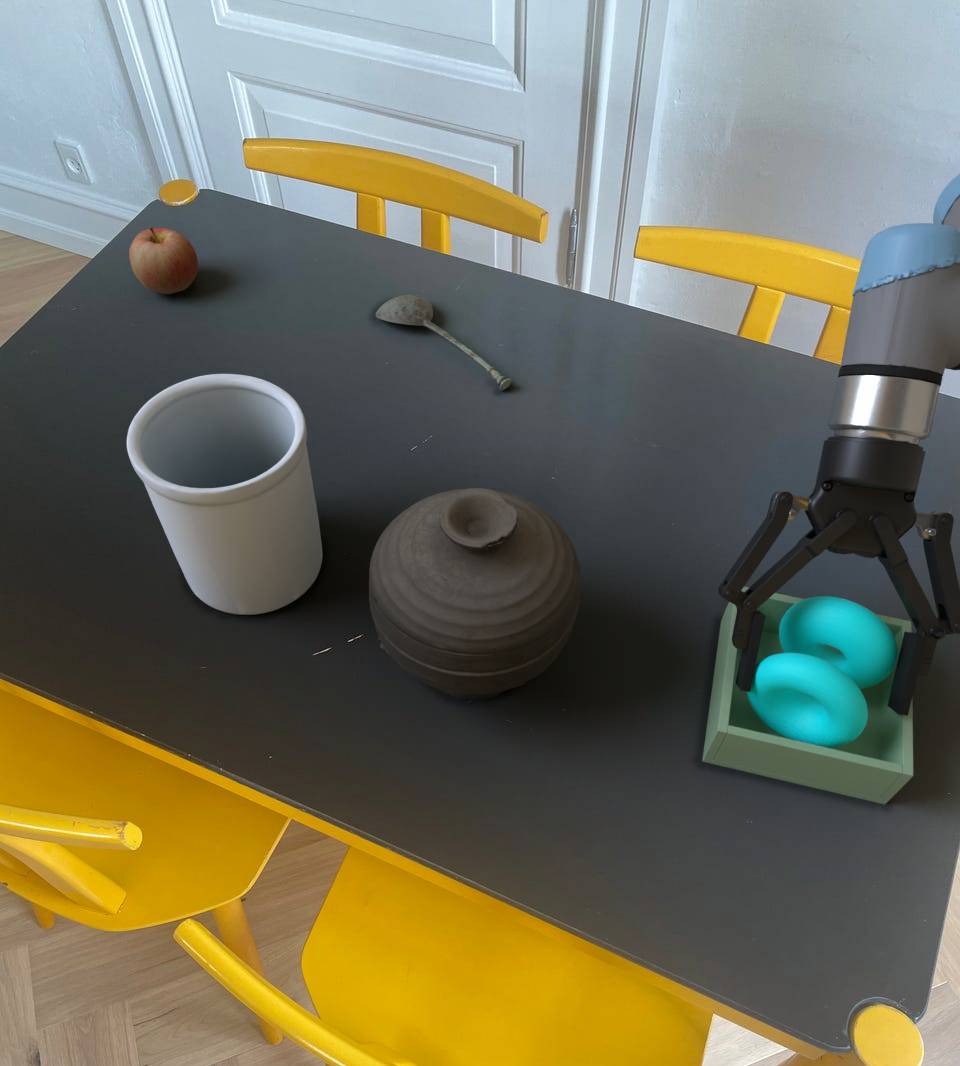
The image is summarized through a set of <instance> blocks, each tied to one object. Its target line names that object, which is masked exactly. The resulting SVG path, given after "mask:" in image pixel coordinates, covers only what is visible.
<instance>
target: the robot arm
mask: <svg viewBox="0 0 960 1066" xmlns="http://www.w3.org/2000/svg"><path fill="white" fill-rule="evenodd" d="M851 296H852V300H851V307H850V313H849V317H848V322H847V328H846V334H845V340H844V344H843V345H844V346H843V351H842V356H841V361H840V367H839V369H838V370H839V371H838V375H837V381H836V386H835V390H834V394H833V399H832V403H831V408H830V411H829V417H828V422H827V427H828V428H829V429H830V430H831V431H834V432H833V435H832V436H828V437H827V438H826V439H827V440H826V439H825V440H824V441H823V445H822V450H821V455H820V460H819V464H818V465H819V466H818V470H817V475H816V480H815V484H814V488H813V490H812V492H811V493H810V494H809V496H807V497H806V496H801V495H795V494H792V493H791V492H789V491H786V490H785V491H784V490H777V491H774V492H773V493H772V495H771V497H770V502H769V505H768V509H767V513H766V517H765V518H764V520H762V523H761V524H760V525H759V527H758V529H757V530H756V531H755V532H754V534H753V536H752V537H751V539H750V540H749V542H748V543H747V544H746V545H745V547H744V549H743V551H742V552H741V554H740V555H739V557H738V558H737V559H736V561H735V563H734V564H733V566H732V567H731V569H730V570H729V572H728V573H727V574H726V575H725V577H724V579H723V580H722V581H721V583H720V584H719V586H718V588H717V592H718V595H719V596H720V597H721V598H722V599H724V600H725V601H727V602H728V603H729V602H731V603H732V604H734V605H736V607H737V614H736V619H735V624H734V629H733V634H732V643H733V646H734V647H735V648H738V649H742V652H741V657H740V662H739V667H738V672H737V678H736V684H737V686H738V687H739V688H740V690H741V691H747V692H750V690H751V685H752V680H753V675H754V670H755V665H756V660H757V655H758V650H759V645H760V640H761V635H762V630H763V625H764V620H765V615H764V614H763V613H761V612H760V611H758V610H757V609H758V608H759V607H760V606H761V605H762V604H763V603H764V602H765V601H767V600H768V599H769V598H770V597H771V596H772V595H773V594H774V593H777V592H778V591H779V590H781V588H783V586H784V585H786V583H788V582H789V581H790V580H791V579H792V578H793V577H794V576H796V574H798V573H799V572H800V571H801V570H802V569H804V568H805V566H807V565H808V564H809V563H810V562H811V561H812V560H814V559H815V558H816V557H818V556H820V555H821V554H822V553H824V551H826V550H827V552H830V553H833V554H839V555H850V554H851V555H852V554H854V555H856V556H860V557H862V558H868V559H875V558H877V559H878V561H879V562H880V564H881V565H882V566H883V567H884V569H885V572H886V573H887V575H888V577H889V579H890V581H891V583H892V586H893V587H894V590H895V591H896V593H897V595H898V597H899V599H900V601H901V603H902V605H903V607H904V609H905V610H906V613H907V615H908V617H909V618H910V621H911V623H912V624H913V627H914V628H915V630H916V633H915V632H912V633H911V632H904V636H903V640H902V645H901V649H900V653H899V658H898V662H897V666H896V671H895V675H894V679H893V684H892V688H891V692H890V697H889V701H888V705H887V706H888V707H890V708H891V709H892V710H894V711H895V712H896V713H897V714H900V715H906V716H908V713H909V709H910V705H911V701H912V702H913V697H914V692H915V689H916V685H917V679H918V676H923V677H927V676H928V674H929V673H930V671H931V669H932V664H933V660H934V655H935V652H936V648H937V643H938V641H941V640H943V639H944V638H945V637H946V636H947V635H948V636H949V635H953V634H956V635H960V584H959V579H958V574H957V570H956V565H955V559H954V554H953V549H952V545H951V540H952V534H953V528H954V523H955V518H954V516H953V514H951V513H949V512H945V511H936V510H935V511H931V512H920V511H917V510H916V507H915V497H916V494H917V491H918V488H919V483H920V479H921V478H920V477H921V474H922V469H923V465H924V462H925V461H924V460H925V457H926V451H925V450H924V447H923V446H921V445H920V442H921V441H922V440H923V441H924V440H927V438H930V436H931V430H932V426H933V422H934V418H935V412H936V407H937V402H938V397H939V392H940V388H941V386H942V382H943V377H944V374H945V370H952V371H960V173H958V174H957V175H956V176H955V177H953V178H952V179H951V180H950V181H949V182H948V183H947V184H946V186H945V187H944V188H943V189H942V191H941V193H940V194H939V196H938V197H937V200H936V202H935V204H934V208H933V215H932V223H931V222H930V223H929V222H915V223H904V224H898V225H893V226H890V227H886V228H884V229H882V230H881V231H879V232H877V233H876V234H874V235H873V236H872V237H871V238H870V239H869V241H868V242H867V244H866V246H865V250H864V254H863V256H862V260H861V262H860V266H859V269H858V273H857V277H856V281H855V285H854V288H853V290H852V295H851ZM803 511H804V513H805V515H806V517H807V519H808V521H809V523H810V526H811V527H812V528H811V529H810V530H809V531H808V532H806V533H805V535H804V536H802V537H801V538H800V539H799V540H798V541H797V542H796V544H795V545H794V546H793V547H792V548H791V549H790V550H789V551H788V552H787V553H785V554H784V555H783V556H782V557H781V558H780V559H779V560H778V561H777V562H776V563H775V564H773V565H772V566H771V567H770V568H769V569H768V570H767V571H766V572H764V573H763V575H761V576H760V577H759V578H758V579H757V580H756V581H755V582H754V583H753V584H752V585H750V587H749V588H748V589H747V590H746V591H745V592H743V591H741V590H742V589H743V587H746V585H747V583H748V581H749V580H750V579H751V577H752V576H753V574H754V573H755V571H756V570H757V568H758V567H759V565H760V564H761V562H762V561H763V559H765V557H766V555H767V554H768V552H769V551H770V549H771V548H772V547H773V545H774V544H775V542H776V541H777V539H778V538H779V536H780V535H781V533H782V532H783V530H784V529H785V527H786V525H787V523H788V521H793V520H795V519H796V518H797V517H798V515H799V514H800V513H801V512H803ZM913 527H916V532H917V536H918V537H919V538H921V539H923V541H922V542H923V544H922V546H923V551H924V556H925V561H926V565H927V571H928V575H929V579H930V584H931V590H932V594H933V599H934V604H935V609H936V613H937V616H936V614H935V611H934V610H933V608H932V606H931V604H930V602H929V600H928V598H927V596H926V594H925V592H924V590H923V588H922V587H921V584H920V582H919V580H918V579H917V577H916V575H915V572H914V570H913V569H912V566H911V564H910V562H909V557H908V555H907V553H906V551H905V549H904V547H903V545H902V543H901V541H900V540H901V538H902V537H903V536H905V535H906V533H907V532H909V531H910V530H911V529H912V528H913Z"/></svg>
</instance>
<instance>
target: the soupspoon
mask: <svg viewBox="0 0 960 1066" xmlns="http://www.w3.org/2000/svg"><path fill="white" fill-rule="evenodd" d="M433 315H434V309H433V304H432V303H431V302H430V300H428V299H427V298H425V297H423V296H419V295H417V294H403V295H399V296H398V295H397V296H395V297H393V298H391V299H388V300H387V301H386V302H384V303H383V304H382V305H381V306H379V308H378V309H377V310H376V312H375V318H377V319H379V320H380V321H381V320H382V321H383V322H387V323H393V324H398V325H407V326H417V327H418V326H419V327H425V328H427V329H429V330H431V331H432V332H434V333H435V334H438V335H439V336H440V337H442V338H444V339H445V340H446V341H448V342H449V343H451V344H452V345H454V346H455V347H456V348H458V349H459V350H460V351H462V352H464V354H466V355H467V356H469V357H470V358H471V359H473V360H474V361H475V362H476V363H478V364H479V365H480V366H482V367H483V368H485V369H486V372H487V374H491V377H492V379H493V380H495V382H496V383H497V385H499V391H505V390H507V389H508V387H510V385H511V384H512V382H513V381H512V378H507V377H506V376H505V375H502V374H501V373H500V372H499V371H497V370H495V367H494V366H491V365H490V364H489V363H488V362H486V360H484V359H483V358H482V357H481V356H479V355H478V354H477V353H476V352H474V351H473V350H471V349H470V348H468V347H467V346H466V345H465V344H464V343H462V342H461V341H459V340H458V339H457V338H455V337H454V336H452V335H451V334H450V333H448V332H447V331H446V330H444V329H442V328H441V327H440V326H438V325H437V324H435V323H433V322H432V319H433Z"/></svg>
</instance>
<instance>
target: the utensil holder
mask: <svg viewBox="0 0 960 1066" xmlns="http://www.w3.org/2000/svg"><path fill="white" fill-rule="evenodd" d="M126 435H127V436H126V451H127V454H128V458H129V461H130V463H131V465H132V468H133V470H134V471H135V473H136V474H137V476H138V477H139V478H140V480H141V481H142V483H143V484H144V487H145V490H146V491H147V495H148V496H149V499H150V501H151V504H152V506H153V508H154V511H155V513H156V515H157V517H158V520H159V522H160V524H161V526H162V529H163V531H164V534H165V536H166V538H167V540H168V543H169V545H170V548H171V549H172V552H173V554H174V556H175V558H176V561H177V563H178V565H179V567H180V569H181V571H182V573H183V576H184V578H185V580H186V582H187V585H188V586H189V587H190V590H191V591H192V592H193V594H194V595H195V596H196V597H197V598H198V599H199V600H200V601H202V603H204V604H206V605H207V606H209V607H211V608H213V609H215V610H218V611H221V612H224V613H227V614H232V615H241V616H243V615H244V616H245V615H246V616H250V615H260V614H261V615H262V614H266V613H270V612H274V611H277V610H279V609H281V608H283V607H286V606H288V605H289V604H291V603H293V602H294V601H296V600H298V599H299V598H300V597H301V596H303V595H304V594H305V593H306V592H307V591H308V590H309V589H310V588H311V587H312V585H313V584H314V582H315V581H316V579H317V577H318V576H319V573H320V571H321V567H322V563H323V544H322V537H321V529H320V520H319V514H318V507H317V500H316V496H315V490H314V484H313V477H312V471H311V466H310V465H311V464H310V459H309V452H308V448H307V447H308V446H307V440H308V438H307V437H308V430H307V423H306V418H305V415H304V412H303V411H302V409H301V407H300V405H299V403H298V402H297V401H296V400H295V398H294V397H292V395H290V394H289V393H288V392H287V391H286V390H284V389H283V388H281V387H280V386H278V385H276V384H274V383H272V382H270V381H268V380H265V379H262V378H259V377H256V376H251V375H245V374H236V373H212V374H205V375H199V376H195V377H192V378H188V379H185V380H182V381H180V382H178V383H175V384H172V385H171V386H168V387H167V388H165V389H163V390H161V391H160V392H159V393H157V394H155V395H154V396H153V397H151V398H150V399H149V400H148V401H146V402H145V404H143V405H142V407H141V408H140V409H139V410H138V411H137V413H136V414H135V415H134V417H133V418H132V420H131V423H130V425H129V427H128V430H127V434H126Z"/></svg>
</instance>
